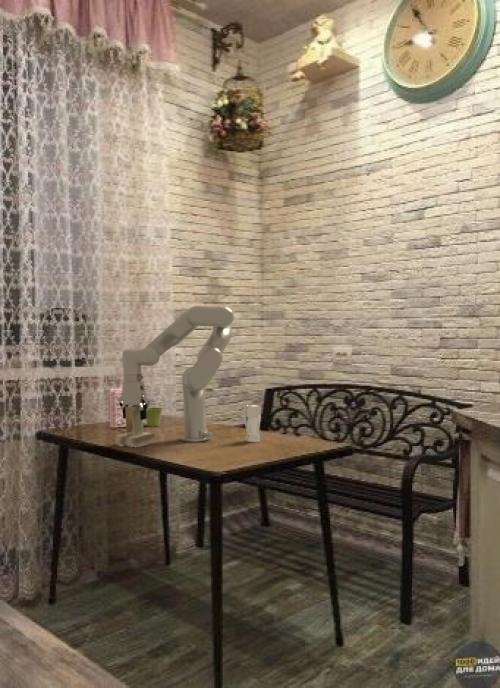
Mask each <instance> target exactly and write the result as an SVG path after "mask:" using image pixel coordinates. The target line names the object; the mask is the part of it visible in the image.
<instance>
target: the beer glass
mask: <svg viewBox="0 0 500 688" xmlns="http://www.w3.org/2000/svg"><path fill="white" fill-rule="evenodd" d="M260 406H261V405H260V404H247V405H245V404H244V406H243V407H244V409H243V419H244V425H245V430H246V436H245V442H247V443H258V442H260V441H261V438H260V437H261V436H260V425H261V407H260Z"/></svg>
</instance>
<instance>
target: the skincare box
mask: <svg viewBox="0 0 500 688" xmlns="http://www.w3.org/2000/svg"><path fill="white" fill-rule="evenodd" d="M140 410H141V409H140V407H139V406H133V405H129V406H128V407H125V412H126V419H125V429H126V430H125V431H126V432H125V433H126V434H127V435H129V436H136V435H140V434H144V419H143V420H141V419H140Z"/></svg>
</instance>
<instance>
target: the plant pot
mask: <svg viewBox="0 0 500 688" xmlns="http://www.w3.org/2000/svg"><path fill="white" fill-rule="evenodd" d="M162 410H163V407H158V406H157V407H156V406H155V407H148V408H147V409H146V419H145V420H146V426H147V427H152V428H153V427H160V425H161V416H162Z"/></svg>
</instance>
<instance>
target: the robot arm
mask: <svg viewBox="0 0 500 688" xmlns="http://www.w3.org/2000/svg"><path fill="white" fill-rule="evenodd" d="M234 315H235V314H234V312H233V310H232V308H230V307H227V306H204V305H202V306H201V305H195V306H191V307H190V308H187V310H185V311H184V312H183V313H182V314H181V315H180V316H179V317H178V318H176V319H175V320H174V321H173V322H172V323H171V324H170V325H168V327H167V328H165V329H164V330H163V331H162V332H161V333H160V334H159V335H157V337H154V339H153V340H151V342H149V343H148V344H147V345H146V346H145V347H144V348H143V349H136V348H134V349H133V348H132V349H125V350H123V351H122V371H123V373H122V374H123V382H122V387H121V389H122V390H121V392H122V393H121V396H120V397H118V398H117V402H118V406H120V409H121V410H122V419H123V420H126V412H125V407H129V406H139V407H140V409H141V410H140V419H141V420H143V421H144V420H147V419H146V409H147V408H149V406H150V402H151V399H150V398H149V397H147V391H146V386H145V382H144V381H143V379H144V376H143V375H142V366H147V367H153V366H155V365H157V364H158V363H159V361H160V358H161V356H163V355H164V354H165V353H166V352H167V351H169V350H170V349H171V348H173V347H175V346H178V345H179V344H180V343H181V342H183V341H184V340H185V339H186V338H187V337H188V336H189V335H190V334H191V333H192V332H194V331H195V330H196V329H197V328H198V327H212V332H211V334H210V335H209V338H208V339H207V340H206V342H205V343H204V345H203V346H202V348H201V349H200V350H199V351H198V353H197V356H196V359H197V360H196V362H195V363H194V365H193V366H191V367H187V368H186V369H185V370H184V371H183V373H182V375H181V376H182V377H181V384H182V398H183V400H182V401H183V431H184V434H183V435H182V436H180V440H181V441H182V442H189V443H190V442H194V443H195V442H196V443H198V442H204V441H208V440H210V439H211V438H212V437H213V435H214V432H213V431H209V428H207V413H206V411H207V409H206V391H205V390H206V387H207V386H208V385H209V384H210V382H211V381H212V379H213V377H214V376H215V375H216V373H217V371H219V369H220V367H221V365H222V364H223V359H224V358H223V353H224V351H225V349H226V348H227V346H228V345H229V342H230V340H231V338H232V334H233V333H232V332H233V331H232V330H233V329H232V328H233V327H232V323H233V322H234V319H235V316H234Z"/></svg>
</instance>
